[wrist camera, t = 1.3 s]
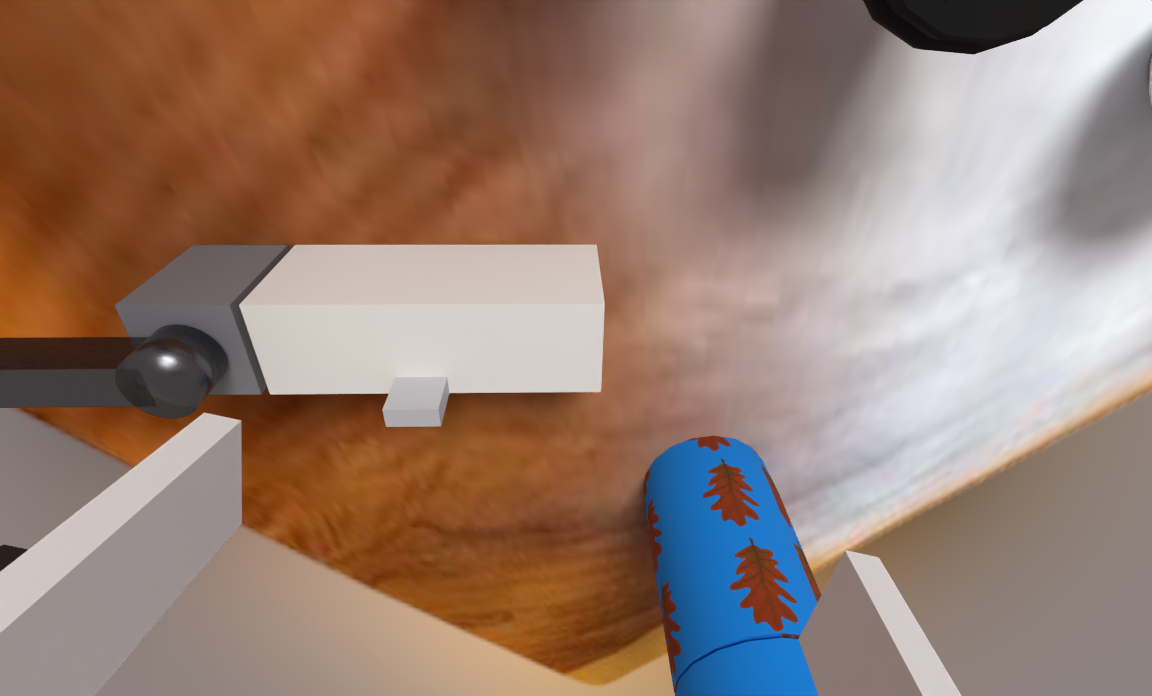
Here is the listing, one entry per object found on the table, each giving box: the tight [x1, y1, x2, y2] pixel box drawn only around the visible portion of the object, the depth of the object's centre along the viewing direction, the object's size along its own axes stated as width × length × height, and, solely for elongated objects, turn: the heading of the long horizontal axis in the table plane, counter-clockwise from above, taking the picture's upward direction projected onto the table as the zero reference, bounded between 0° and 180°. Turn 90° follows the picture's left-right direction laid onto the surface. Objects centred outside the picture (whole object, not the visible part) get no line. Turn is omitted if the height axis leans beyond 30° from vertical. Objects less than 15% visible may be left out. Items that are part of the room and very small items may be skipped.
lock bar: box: [0, 324, 227, 418], centre depth 31 cm, size 4×16×3 cm, turn 89°
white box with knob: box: [114, 245, 605, 427], centre depth 35 cm, size 6×26×11 cm, turn 89°
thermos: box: [644, 436, 821, 696], centre depth 40 cm, size 11×11×25 cm
